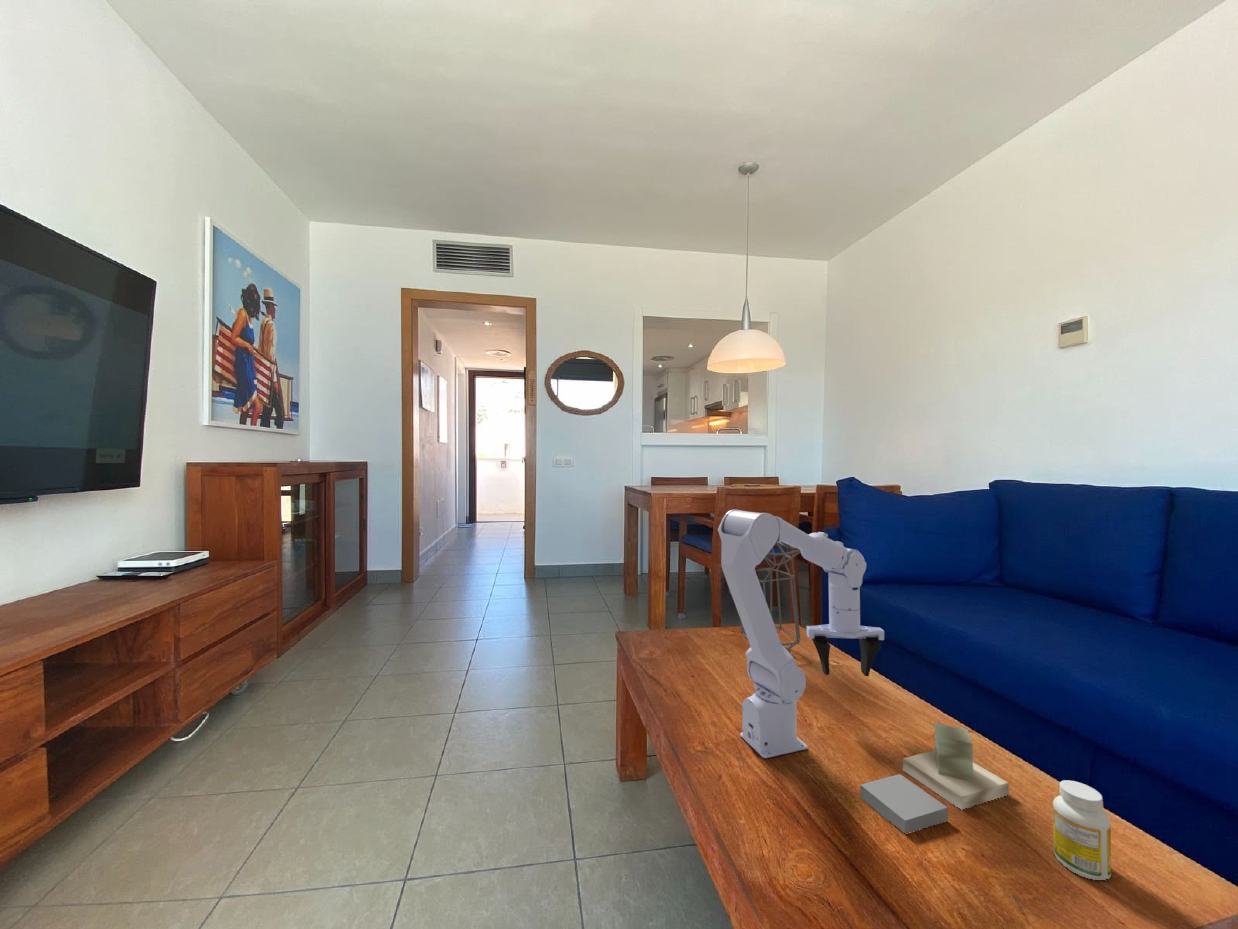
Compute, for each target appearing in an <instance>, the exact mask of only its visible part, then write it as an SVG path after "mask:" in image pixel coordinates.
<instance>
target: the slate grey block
mask: <svg viewBox="0 0 1238 929" xmlns="http://www.w3.org/2000/svg"><path fill="white" fill-rule="evenodd" d="M859 786H860V787H859V790H860V797H861V798H860V799H861V800H863V801H864V802H865V803H866V804H868V805H869V806H870V807H871V808H872V809H874V810H875V811H876V812H877V813H879V814H880V815H881V816H882V817H883V818H884V819H885V820H887V821H888V822H889V821H890V822H891V823H890V822H889V823H890V824H891V825H893V826H894V825H895V826H896V827H897V828H896V829H898V828H899V829H900V830H901V831H902V832H904V833H905V834H907V833H909V832H913V831H916V832H919V831H920V830H919V829H922V830H924V829H923V828H926V829H928V827H929V826H932V827H934V826H933V825H935V826H937V825H936V824H938V825H940V823H941V824H943V822H944V823H946V822H945V821H947V822H948V821H949V812H948V810H949V808H948V806H946V805H945V804H943V803H942V802H941V801H939V800H938V799H936V798H935V797H933V796H932V795H931V794H929V793H927V791H925V790H923V789H922V788H921V787H919V786H918V785H916V784H915V783H913V782H912V781H911V780H909V779H908V778H906V777H905V776H904V775H902V774H901V773H897V774H895V775H891V776H886V777H883V778H880V779H875V780H873V781H870V782H865V783H861V784H860V785H859ZM895 826H894V827H895ZM929 828H930V827H929ZM899 829H898V830H899ZM900 830H899V831H900ZM918 830H919V831H918ZM901 831H900V832H901ZM902 832H901V833H902ZM904 833H903V834H904ZM913 833H914V832H913ZM905 834H904V835H905ZM907 835H908V834H907Z"/></svg>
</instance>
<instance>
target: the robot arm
mask: <svg viewBox="0 0 1238 929" xmlns="http://www.w3.org/2000/svg"><path fill="white" fill-rule="evenodd" d="M717 532H718V535H719V538H720V541H721V552H720V553H721V557H720V559H721V560H720V562H721V563H720V564H721V569H722V572H723V576H724V578H725V582H726V584H727V587H728V589H729V592H730V595H731V598H732V600H733V602H734V604H735V608H736V610H737V614H738V615H739V616H738V617H739V619H740V623H741V622H742V625H743V627H744V630H745V633H746V636H747V638H748V640H747V642H748V643H749V646H750V647H749V648H748V649H747V650H746V652H745V658H746V660H747V661H746V662H747V666H746V670H747V675H748V678H749V679H750V680H751V681H752V682H753V688H754V689H755V692H754V693H752V695H751V696H748V697H746V698H744V699H743V702H742V706H741V712H742V713H741V714H742V716H741V718H742V719H741V720H742V724H741V726H742V728H741V729H742V730H741V731H742V732H740V734H739V735H740V737H741V738H743V740H745V742H746V743H747V744H748V745H750V746H751V748H753V749H754V750H755V752H757V753H758V755H760V756H761V757H762V758H763V759H768V758H769V759H770V758H772V757H776V756H777V757H778V756H781V755H786V754H790V753H795V752H799V751H803V750H807V749H808V746H809V745H808V744H806V743H805V742H804V741H803V740H801V739H800V738H799V737H798V727H797V716H798V715H797V702H798V701H799V700H800V698H801V697H802V695H803V694H804V692H805V690H806V684H807V680H806V675H805V672H804V671H803V669H801V667H799V666H798V665H797V662H796V659H795V658H794V656H793V655H792V654H791V652H790V653H789V650H788V649H785V648H786V647H785V646H782V644H783V643H781V642H780V641H781V640H780V637H779V633H778V634H777V631H778V630H777V628H775V626H776V625H775V623H774V620H773V616H772V617H771V614H770V608H769V605H768V603H767V599H766V600H765V597H764V594H763V587H762V586H761V582H759V580H760V579H759V578H758V575H757V571H755V570H756V566H758V565H760V564H761V563H762V561H763V560H765V559H764V558H765V556H766V557H767V556H768V555H767V554H768V553H770V551H772V547H773V548H774V546H775V545H776V542H778V543H780V542H783V543H786V544H788V545H790V546H793V547H795V548H798V549H797V550H799V549H800V551H801V553H800V554H801V557H802V558H803V559H805V560H806V561H808V562H810V563H813V564H815V565H817V566H819V567H821V568H822V569H823V571H824V572H825V573H828V621H829V622H828V624H819V625H818V624H817V625H806V636H807V637H808V638H809V639H810V640H811V641H812V642H813V644H814V646H815V649H816V651H817V654H818V657H819V661H820V664H821V670H822V673H823V674H824V675H825V676H830V651H831V644H829V642H828V638H829V639H833V638H834V639H858V640H859V649H860V672H861V673H862V674H863V675H864V676H865V677H869V676H870V671H871V668H872V666H873V662H874V660H875V657H876V656H877V654H878V652H880V650H881V648H882V643H881V642H880V641H884V640H885V630H884V629H882V628H881V627H875V626H865V625H861V597H860V596H861V593H860V592H861V591H860V588H861V586H862V584H863V576H864V574H865V572H866V570H867V562H866V560H865V558H864V555H862V553H861V552H860V551H859V550H858V549H853V548H848V547H845V546H844V543H843V542H841V541H838V540H836V541H834V540H832V539H830V538H829V537H828V536H829V534H828V533H825V532H821V531H818V532H811V533H809V534H808V533H806V532H805V531H804V530H803V531H802V530H801V529H800V528H797V527H796V526H794V525H792V524H791V523H789V522H787V521H786V520H784V519H782V517H779V516H775V515H773V514H771V513H768V512H756V511H755V512H754V511H746V510H740V509H736V508H735V509H731V510H728V511H727V512H726V513H725V514H724V515H723V517H722V519H721V522H720V524H719V526H718V527H717Z"/></svg>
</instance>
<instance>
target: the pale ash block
mask: <svg viewBox="0 0 1238 929" xmlns="http://www.w3.org/2000/svg"><path fill="white" fill-rule="evenodd" d="M902 771H903V772H905V773H907V775H909V776H911V777H912V778H914V779H915V780H917V781H918V782H920V783H921V784H922V785H924V786H925V787H927V788H928V789H930V790H931V791H933V793H936V794H937V795H938V794H939V797H941V798H943V799H944V800H946V801H947V802H949V803H950V804H951V805H953V804H954V805H955V807H956V808H957V807H958V808H957V809H959V808H960V809H961V810H960V809H959V810H960V811H963V809H964V810H966V809H965V808H967V809H970V808H973V806H974V805H977V804H980V805H982V803H983V804H985V803H984V802H986V803H988V802H987V801H990V802H992V801H991V800H993V801H995V800H994V799H996V800H998V799H997V798H999V797H1002V798H1005V797H1004V796H1006V797H1008V796H1007V795H1010V794H1009V782H1008V781H1007V780H1005V779H1003V778H1001V777H1000V776H997V775H996V774H994V773H992V772H990V771H989V770H987V769H985V768H984V767H982V766H980V765H979V764H977V763H975V762H973V782H970V781H966V780H962V779H958V778H954V777H949V776H945V775H941V774H939V773H938V769H937V764H936V760H935V749H934V750H931V751H927V752H923V753H918V754H915V755H912V756H907V757H904V758H902ZM999 799H1000V798H999ZM954 805H953V806H954ZM977 806H978V805H977ZM974 807H975V806H974Z"/></svg>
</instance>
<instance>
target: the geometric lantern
mask: <svg viewBox="0 0 1238 929" xmlns="http://www.w3.org/2000/svg"><path fill="white" fill-rule="evenodd" d="M775 545H776V546H777V547H778V549H779V550H780V552H777V553H776V552H775V549H774V546H773V547H772V549H771V552H768V554H767V555H766V556H765V558H764V559H763V560H765V561H766V563H767V565H768V566H769V567H770V568H764V569H755V572H762V571H763V572H764V571H769V572H768V573H767V575H766V576H765V578H764V580H761V579H758V580H759V583H762V591H763V594H764V597H765V600H766V601H767V598H766V597H767V595H766V583H767V582H770V584H769V587H770V590H769V591H770V593H769V594H770V595H769V596H770V598H769V599H770V600H769V601H770V602H769V603H770V604H769V605H770V606H769V607H770V608H769V611H770V614H771V617H772V618H773V582H775V581H776V587H777V588H776V589H777V603H778V605H777V606H778V618H779V626H778V625H775V628H776V629H778V630H776V631H777V634H778V635H779V632H780V631H784V632H785V633H787V634H788V635H790V636H792V637H794V638H795V640H794V641H792V642H784V641H781V640H780V642H781V644H782V646H783V647H784V648H785V649H786V650H787V651H788V652H789V653H790V654H791V649H792V648H793V647H795V646H796V645H799V644H800V643H801V631H800V621H799V611H798V610H799V609H798V600H797V587H796V575H795V574H796V573H795V568H794V558H796V556H798V555H800V554H801V551H800V549H798V548H795V547H793V546H791V545H788V544H786V543H783V542H780V543H778V542H776V543H775ZM782 546H783V547H785V548H786V552H785V550H784V549H783V547H782ZM789 550H791V551H789ZM790 554H791V556H790ZM768 556H773V560H774V561H772V560H771V559H770V558H769V557H768ZM776 556H782V558H781V560H780V562H777V561H776V560H777V559H776ZM786 558H787V559H786ZM790 561H791V566H792V573H793V574H791V572H790V569H789V567H788V564H787V563H788V562H790ZM770 563H771V564H772V565H773V566H772V565H771V564H770ZM782 565H784V567H785V568H786V571H787V572H786V571H782V570H779V569H780V567H781V566H782ZM776 566H777V567H776ZM775 567H776V568H775ZM773 572H775V573H776V574H775V575H776V576H775V577H776V578H773ZM779 572H780V573H782V574H785V575H787V576H789V577H786V578H785V577H784V578H779ZM768 577H770V579H768ZM785 580H789V582H790V584H789V585H790V592H791V600H792V601H791V602H792V608H793V618H794V626H795V633H792V632H790V631H789V630H787V629H785V628H784V627H782V626H783V625H782V610H781V594H780V581H785ZM740 635H741V636H743V637H744V638H745V639H746V640H747V641H748V638H747V636H746V633H745V630H744V627H743V625H742V622H741V621H740ZM785 646H787V647H785Z"/></svg>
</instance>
